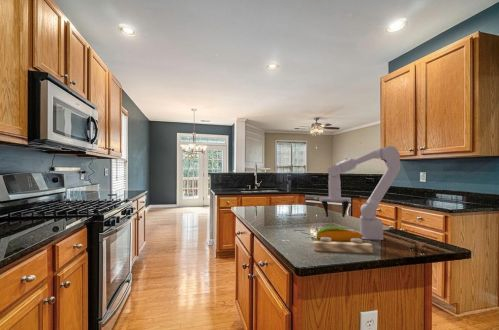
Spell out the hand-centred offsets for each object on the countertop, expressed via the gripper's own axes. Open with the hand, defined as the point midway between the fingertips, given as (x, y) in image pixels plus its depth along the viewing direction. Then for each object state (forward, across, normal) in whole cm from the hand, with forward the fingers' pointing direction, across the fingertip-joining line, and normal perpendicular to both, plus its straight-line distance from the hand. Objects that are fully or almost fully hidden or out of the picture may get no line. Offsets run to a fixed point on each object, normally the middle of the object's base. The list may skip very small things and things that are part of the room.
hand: (335, 216), depth 123 cm
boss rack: (+9, +1, +23) cm, 24 cm away
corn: (+9, 0, +14) cm, 17 cm away
